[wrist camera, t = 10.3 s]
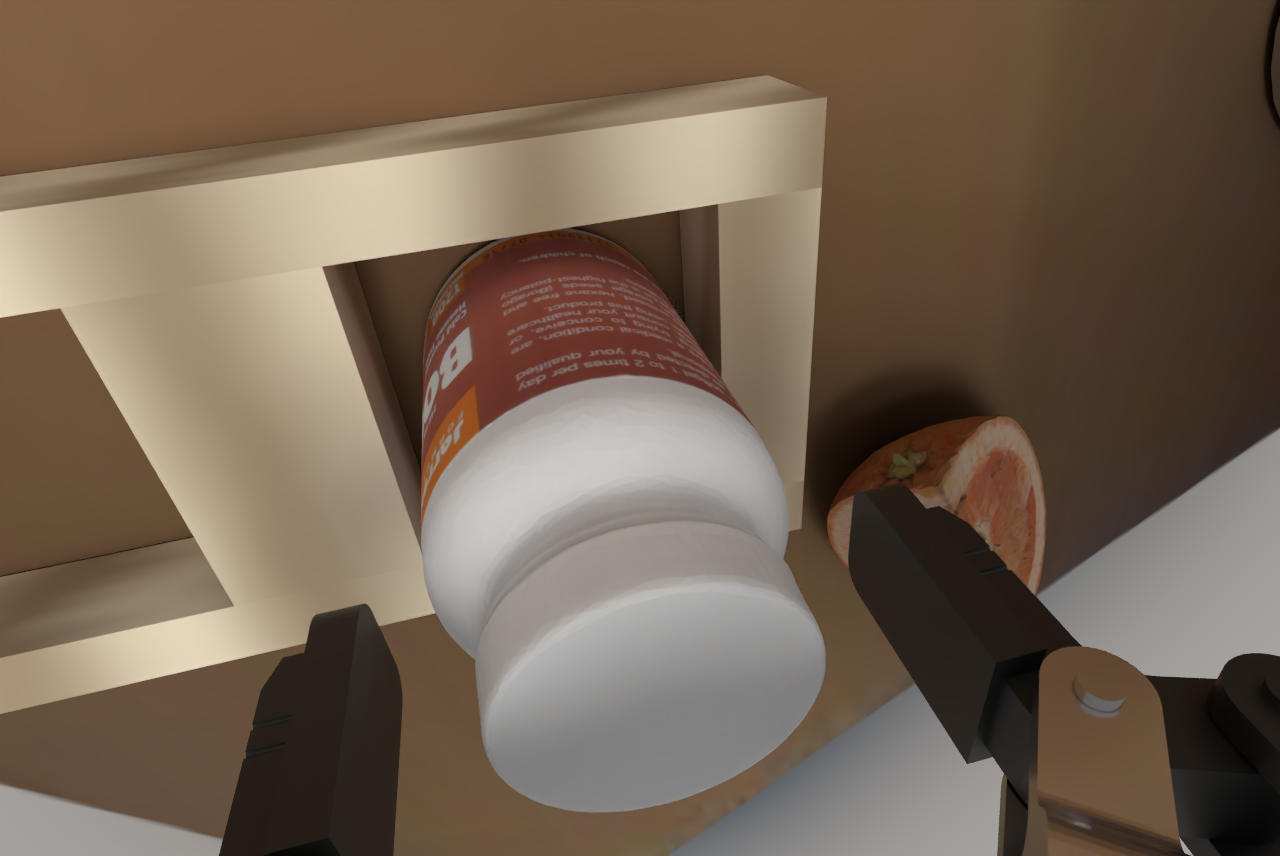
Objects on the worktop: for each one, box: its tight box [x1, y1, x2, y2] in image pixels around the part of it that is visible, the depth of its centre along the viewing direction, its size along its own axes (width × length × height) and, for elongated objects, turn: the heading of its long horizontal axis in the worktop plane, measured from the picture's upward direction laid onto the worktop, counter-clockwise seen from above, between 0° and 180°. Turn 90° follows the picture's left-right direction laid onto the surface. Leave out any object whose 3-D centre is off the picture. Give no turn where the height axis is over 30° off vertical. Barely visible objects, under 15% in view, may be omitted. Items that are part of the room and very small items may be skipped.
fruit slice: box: [827, 415, 1046, 596], centre depth 22 cm, size 8×7×5 cm
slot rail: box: [0, 75, 827, 714], centre depth 16 cm, size 24×11×3 cm, turn 96°
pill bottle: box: [421, 228, 826, 812], centre depth 14 cm, size 6×6×11 cm
